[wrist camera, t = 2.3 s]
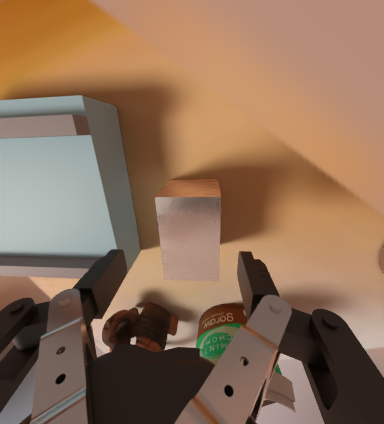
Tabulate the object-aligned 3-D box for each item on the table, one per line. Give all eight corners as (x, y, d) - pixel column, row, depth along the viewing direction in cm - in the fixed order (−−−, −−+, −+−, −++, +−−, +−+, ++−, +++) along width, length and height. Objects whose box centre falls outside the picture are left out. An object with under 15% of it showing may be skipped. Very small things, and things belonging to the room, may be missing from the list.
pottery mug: (194, 325, 28) (174, 396, 24) (156, 314, 34) (133, 369, 29) (141, 292, 22) (99, 377, 18) (105, 285, 28) (66, 347, 23)
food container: (241, 282, 24) (261, 375, 14) (267, 310, 25) (301, 411, 16) (173, 320, 28) (156, 412, 18) (200, 342, 29) (196, 438, 20)
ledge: (116, 106, 17) (65, 89, 11) (141, 250, 23) (116, 290, 17) (-17, 113, 18) (-127, 102, 12) (40, 248, 24) (-15, 284, 18)
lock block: (217, 178, 19) (221, 196, 13) (216, 244, 22) (218, 281, 16) (170, 179, 19) (154, 197, 14) (175, 243, 22) (164, 279, 17)
